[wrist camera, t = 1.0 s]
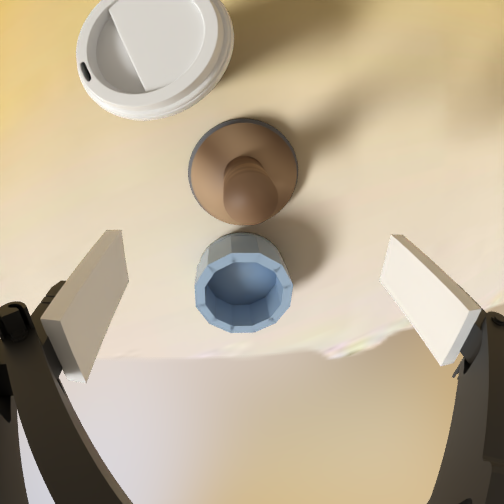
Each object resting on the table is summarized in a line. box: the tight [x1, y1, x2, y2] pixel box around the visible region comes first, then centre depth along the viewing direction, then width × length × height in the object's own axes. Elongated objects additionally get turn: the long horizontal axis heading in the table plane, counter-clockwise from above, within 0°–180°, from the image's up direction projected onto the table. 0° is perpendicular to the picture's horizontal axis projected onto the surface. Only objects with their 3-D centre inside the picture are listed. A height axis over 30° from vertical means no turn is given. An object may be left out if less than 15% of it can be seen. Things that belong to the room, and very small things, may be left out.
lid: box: [191, 123, 297, 225], centre depth 26 cm, size 10×10×9 cm
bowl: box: [195, 232, 293, 333], centre depth 34 cm, size 10×10×5 cm
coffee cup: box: [76, 0, 234, 120], centre depth 19 cm, size 10×10×15 cm
